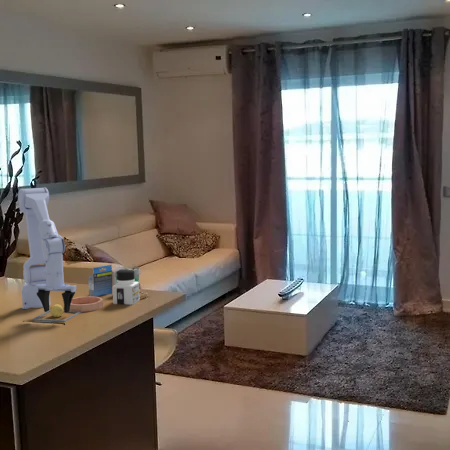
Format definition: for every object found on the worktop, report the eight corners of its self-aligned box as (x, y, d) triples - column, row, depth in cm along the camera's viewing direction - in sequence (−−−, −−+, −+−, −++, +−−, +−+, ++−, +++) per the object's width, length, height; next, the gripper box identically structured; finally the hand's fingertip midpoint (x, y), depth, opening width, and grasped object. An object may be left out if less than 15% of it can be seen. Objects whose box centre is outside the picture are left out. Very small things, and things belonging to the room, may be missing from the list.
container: (132, 306, 224) (131, 271, 222) (113, 306, 225) (111, 271, 224) (139, 301, 231) (138, 267, 230) (120, 300, 233) (119, 267, 231)
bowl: (60, 313, 217) (60, 304, 217) (77, 304, 229) (76, 295, 229) (93, 314, 214) (93, 305, 214) (108, 305, 226) (108, 297, 226)
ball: (48, 318, 208) (47, 305, 208) (55, 315, 213) (54, 302, 212) (59, 318, 207) (58, 306, 207) (66, 315, 212) (65, 303, 211)
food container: (127, 298, 237) (126, 272, 236) (115, 296, 240) (114, 271, 239) (147, 291, 247) (146, 267, 246) (136, 290, 251) (135, 266, 249)
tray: (32, 322, 206) (32, 318, 205) (50, 313, 217) (50, 309, 217) (64, 324, 203) (64, 320, 203) (81, 314, 214) (81, 311, 214)
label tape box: (107, 293, 246) (106, 263, 245) (113, 294, 243) (112, 264, 242) (88, 297, 240) (87, 266, 238) (94, 298, 237) (93, 267, 236)
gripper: (29, 274, 206) (31, 313, 208) (68, 275, 202) (70, 315, 204) (40, 270, 213) (42, 308, 214) (78, 271, 209) (80, 310, 211)
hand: (56, 311), depth 210 cm, fingers open, 7 cm apart
